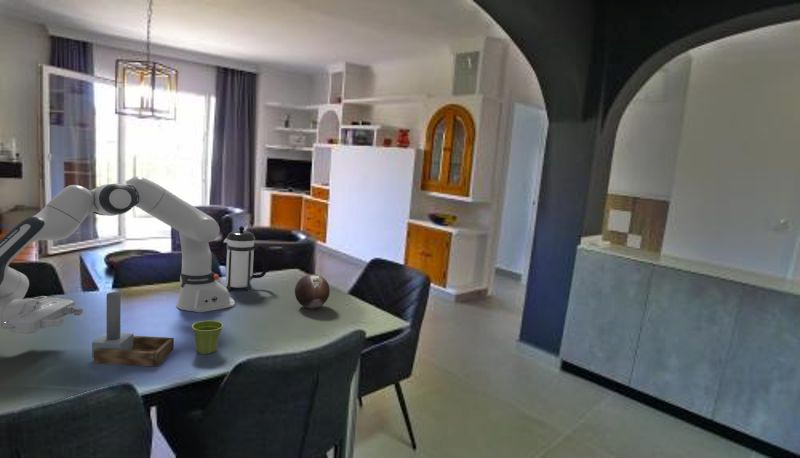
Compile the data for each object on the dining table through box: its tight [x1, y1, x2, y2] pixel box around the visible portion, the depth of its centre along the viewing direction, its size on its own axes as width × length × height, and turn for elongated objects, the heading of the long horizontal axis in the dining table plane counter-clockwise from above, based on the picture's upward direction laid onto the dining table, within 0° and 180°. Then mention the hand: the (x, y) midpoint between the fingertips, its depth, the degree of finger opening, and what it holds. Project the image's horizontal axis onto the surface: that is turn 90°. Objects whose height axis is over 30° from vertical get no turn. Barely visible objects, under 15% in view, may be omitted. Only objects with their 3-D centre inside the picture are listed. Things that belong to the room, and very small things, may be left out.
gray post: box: [91, 291, 135, 359], centre depth 139 cm, size 8×8×19 cm
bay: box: [93, 335, 175, 367], centre depth 141 cm, size 18×12×4 cm, turn 95°
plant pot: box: [191, 320, 224, 355], centre depth 149 cm, size 9×9×9 cm
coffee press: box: [223, 225, 269, 291], centre depth 218 cm, size 17×16×30 cm
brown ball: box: [294, 273, 330, 309], centre depth 200 cm, size 15×15×15 cm
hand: (72, 317), depth 138 cm, fingers open, 8 cm apart
